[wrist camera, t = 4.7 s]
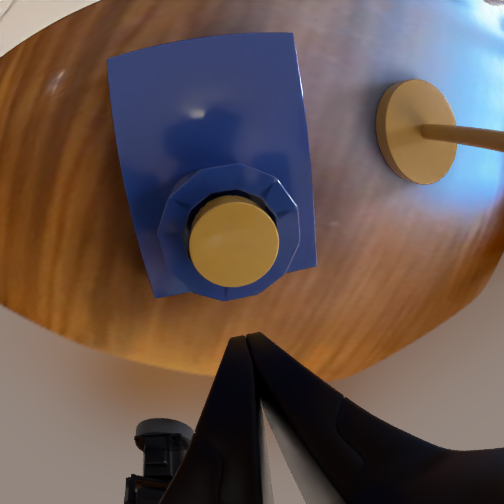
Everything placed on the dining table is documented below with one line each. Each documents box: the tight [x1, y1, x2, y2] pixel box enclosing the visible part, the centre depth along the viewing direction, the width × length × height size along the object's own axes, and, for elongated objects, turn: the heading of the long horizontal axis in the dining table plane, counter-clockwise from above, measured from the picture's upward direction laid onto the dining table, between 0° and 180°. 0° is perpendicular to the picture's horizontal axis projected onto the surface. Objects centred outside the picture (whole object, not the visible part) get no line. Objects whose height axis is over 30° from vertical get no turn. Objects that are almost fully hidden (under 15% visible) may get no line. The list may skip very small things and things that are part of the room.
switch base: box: [107, 33, 317, 301], centre depth 14 cm, size 14×10×4 cm
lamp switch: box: [189, 195, 279, 287], centre depth 13 cm, size 4×4×2 cm
